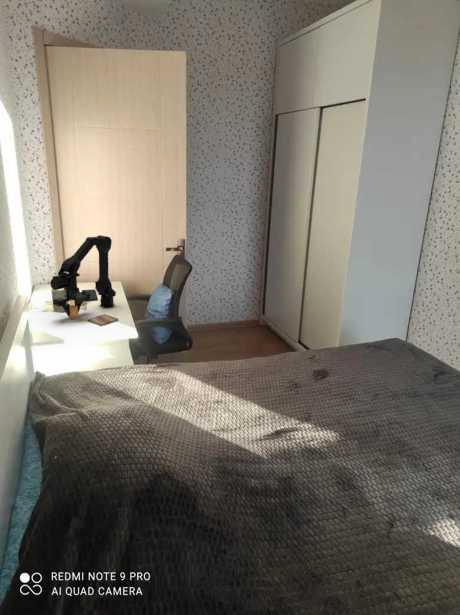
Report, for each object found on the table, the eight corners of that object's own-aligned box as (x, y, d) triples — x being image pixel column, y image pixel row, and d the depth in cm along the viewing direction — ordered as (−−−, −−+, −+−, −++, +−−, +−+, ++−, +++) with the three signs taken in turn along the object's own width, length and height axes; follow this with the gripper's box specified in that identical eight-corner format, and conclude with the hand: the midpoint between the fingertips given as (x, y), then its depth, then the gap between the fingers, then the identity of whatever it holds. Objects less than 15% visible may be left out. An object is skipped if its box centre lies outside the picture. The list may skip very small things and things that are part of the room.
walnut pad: (104, 315, 242) (104, 313, 242) (118, 320, 236) (118, 318, 236) (87, 321, 234) (87, 319, 234) (101, 326, 228) (101, 324, 228)
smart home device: (83, 299, 263) (81, 289, 281) (83, 302, 264) (81, 292, 281) (98, 298, 266) (95, 289, 284) (98, 301, 266) (95, 291, 284)
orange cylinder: (74, 315, 241) (73, 304, 239) (80, 317, 239) (79, 306, 237) (66, 317, 237) (65, 306, 236) (72, 319, 235) (71, 308, 233)
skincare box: (68, 310, 248) (66, 288, 245) (63, 312, 244) (61, 290, 241) (57, 308, 250) (56, 287, 246) (52, 310, 246) (51, 289, 242)
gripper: (64, 292, 221) (67, 322, 226) (96, 285, 235) (97, 313, 240) (51, 288, 227) (53, 317, 232) (82, 281, 242) (84, 309, 246)
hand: (73, 314), depth 238 cm, fingers closed on orange cylinder, 5 cm apart
